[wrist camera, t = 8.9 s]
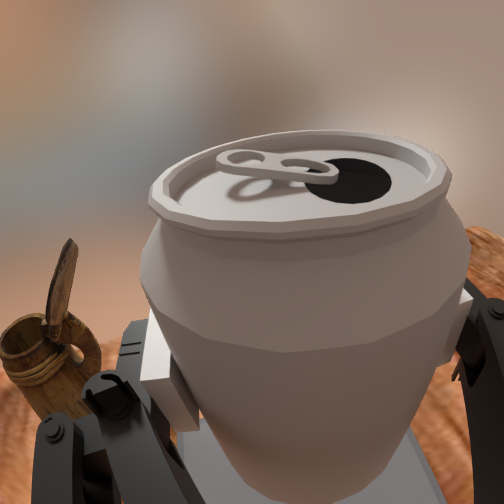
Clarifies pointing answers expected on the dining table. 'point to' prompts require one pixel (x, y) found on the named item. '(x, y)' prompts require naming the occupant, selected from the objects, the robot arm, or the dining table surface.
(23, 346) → the wooden mug
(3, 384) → the dining table surface
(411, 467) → the slate board
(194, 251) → the can
